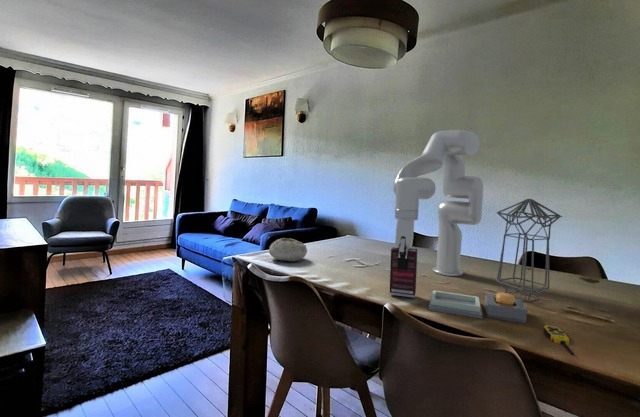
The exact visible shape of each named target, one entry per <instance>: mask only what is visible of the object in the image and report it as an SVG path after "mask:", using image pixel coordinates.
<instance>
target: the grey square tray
mask: <svg viewBox="0 0 640 417" xmlns="http://www.w3.org/2000/svg"><path fill="white" fill-rule="evenodd" d="M429 299H430V300H429V303H428V311H433V312H438V313H445V314H451V315H455V314H456V315H455V316H461V317H469V318H473V319H479V320H482V319H483V312H482V306H481V302H480V297H479V296H476V295H469V294H461V293H456V292H448V291H441V290H434V289H433V290H432V292H431V295H430V298H429Z"/></svg>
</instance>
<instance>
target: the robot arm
mask: <svg viewBox="0 0 640 417" xmlns="http://www.w3.org/2000/svg"><path fill="white" fill-rule="evenodd" d="M480 143H481V142H480V138H479V136H478V135H477V133H475V132H472V131H470V130H465V129H450V130H438V131H436V132H434V133H433V134H432V135H431V137H430V138H429V140H428V142H427V144H426V145H425V147H424V150H423V152H422V153H421V154H420V155H419V156H418V157H416V158H414V159H412V160H411V161H409V162H408V163H406V164H405V165H404V166H403V167H402V168H401V169H400V171H399V172H398V174H397V175H396V177H395V180H394V182H393V190H392V191H393V193H394V195H395V207H394V208H395V210H394V219H395V220H397V221H396V229H395V237H394V238H395V240H394V247H395V248H396V249H397V248H398V247H399V257H398V270H406V271H407V269H408V258H407V255H408V250H409V249H410V248H412V246H413V241H414V232H415V229H414V228H415V221H418V220H419V208H420V207H419V204H420V200H429V199H431V198H432V197H433V196H434V195H435V193H436V184H435V182H434V180H433V179H431V178H429V177H420V176H423V175H427V174H430V173H433V172H436V171H438V170H439V169H441V168H442V167H443V176H442V177H443V178H442V194H443V195H444V196H445V197H447V198H452V199H453V198H455V199H467V200H468V201H461V200H445V201H442V202H441V203H439V205H438V207H437V208H438V209H437V216H438V238H437V240H438V241H437V251H436V252H437V253H436V266H434V267H432V272H433V273H435V274H438V275H442V276H447V277H449V276H450V277H461V276H463V275H464V271H463V270H461V269H460V268H461V267H460V265H461V255H462V254H461V252H462V239H463V235H462V229H461V228H460V227H459V224H460V225H467V226H476V225H479V224H480V222H481V220H482V216H483V214H482V213H483V201H484V199H483V198H484V184H483V180H482V178H480V177H479V176H475V175H474V176H473V175H466V173H465V172H466V163H465V161H464V159H463V158H462V156H463V155H464V156H465V155H466V156H470V155H474V154H476V153H477V152H478V150H479V148H480ZM404 248H407V249H404ZM404 251H406V254H405V252H404Z"/></svg>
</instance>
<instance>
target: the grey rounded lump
mask: <svg viewBox="0 0 640 417" xmlns="http://www.w3.org/2000/svg"><path fill="white" fill-rule="evenodd" d="M268 253H269V255H270V256H271V257H272V258H273V259H275V260H278V261H283V262H297V261H301V260H302V259H304V258H305V257H306V255H307V253H308V249H307V246H306V244H304V243H303V241H299V240H297V239H294V238H285V237H282V238H279V239H276V240H275V241H273V242H271V244H270V245H269V250H268Z"/></svg>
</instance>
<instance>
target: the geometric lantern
mask: <svg viewBox="0 0 640 417" xmlns="http://www.w3.org/2000/svg"><path fill="white" fill-rule="evenodd" d="M528 205H529V208H530V212H531V213H529V212H525V211H526V209H527V207H528ZM513 207H515V208H513ZM511 208H512V209H511ZM542 208H543V209H544V210H546V211H548V212H550V213H552V214H547V213H546V212H545V211H544V210H543V209H542ZM509 209H511V210H510V211H509V212H507V213H503V212H505V211H506V210H507V211H508V210H509ZM496 214H497V215H498V216H500V218H502V219H503V220H504V221H505V222H506V223H505V231H504V234H503V241H502V246H501V253H500V259H499V264H498V270H497V277H496V282H497V283H499V284H500V286H501V287H503V289H504V290H505V291H504V293H508V294H513V293H516V294H519V295H521V296H524V299H522V298H519V297H517V296H515V298H516V299H521V300H522V302H527V303H529V302H533V301H538V300H540V294H541V293H543V292H545V291H547V290H550V239H551V230H552V229H551V226H552V224H554V223H555V222H556V221H557V220H559V219H561V218H563V216H562V215H560V214H558V212H555V211H553V210H551V209H550V208H549V207H546V206H545V205H544V204H541V203H540V202H538V201H536V200H534V199H533V198H526V199H524V200H522V201H519V202H517V203H514V204H512V205H510V206H508V207H505V208H503V209H502V210H499V211H496ZM522 214H523V215H522ZM505 216H506V217H505ZM533 218H536V220H534V219H533ZM515 219H516V222H514V221H515ZM519 219H524V220H520V221H519ZM547 219H548V220H547ZM529 220H530V221H532V222H533V224H532V225H531V226H530V227H529V228H528V230H527V231H526V232H525V230H524V228H523V227H522V225H521V224H523V223H525V222H527V221H529ZM542 220H543V221H544V222H542ZM508 224H509V226H508ZM536 224H538V225H540V226H541V227H540V228H539V230H538V231H537V232H536V233H535V234H529V232H530V231H531V230H532V229H533V227H535V225H536ZM511 226H515V228H516V230H517V231H518V232H517V233H508V231H509V229H510V227H511ZM518 226H519V228H520V229H519V228H518ZM546 227H548V233H547V230H546ZM542 228H543V231H544V233H545V236H543V235H538V233H539V232H540V231H541V230H542ZM520 230H521V232H522V233H521V232H520ZM516 235H518V236H516ZM521 236H524V237H521ZM528 236H530V237H531V236H532V238H529V237H528ZM506 237H511V238H516V239H517V244H516V245H517V246H516V253H515V260H514V267H513V274H512V276H511V277H506V278H502V272H503V260H504V252H505V245H506ZM535 237H537V238H535ZM521 239H523V245H522V256H521V257H522V258H521V267H520V268H521V269H520V271H521V272H520V277H515V275H516V270H517V269H516V268H517V261H518V254H519V246H520V241H521ZM542 240H543V241H544V240H546V250H545V251H546V252H545V272H544V283H542V282H541V283H540V282H537V281H534V269H535V268H534V267H535V266H534V265H535V264H534V261H535V260H534V259H535V257H534V256H535V241H542ZM528 241H531V243H532V244H531V280H529V279H526V271H527V270H526V269H527V255H528V244H529V243H528ZM506 280H507V281H509V280H513V283H514V285H512V284H508V283H506V282H502V281H506ZM516 280H519V284H518V285H517V283H516ZM525 282H528V283H531V289H530V288H527V287H525V286H526V285H525V284H526V283H525ZM521 283H522V286H521ZM534 284H536V285H538V286H539V285H540V286H542V287H541V288H534ZM506 286H508V287H506ZM513 288H514V290H511V289H513ZM527 292H529V293H527ZM533 292H534V293H533ZM527 297H528V299H527ZM530 297H533V298H534V299H530Z"/></svg>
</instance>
